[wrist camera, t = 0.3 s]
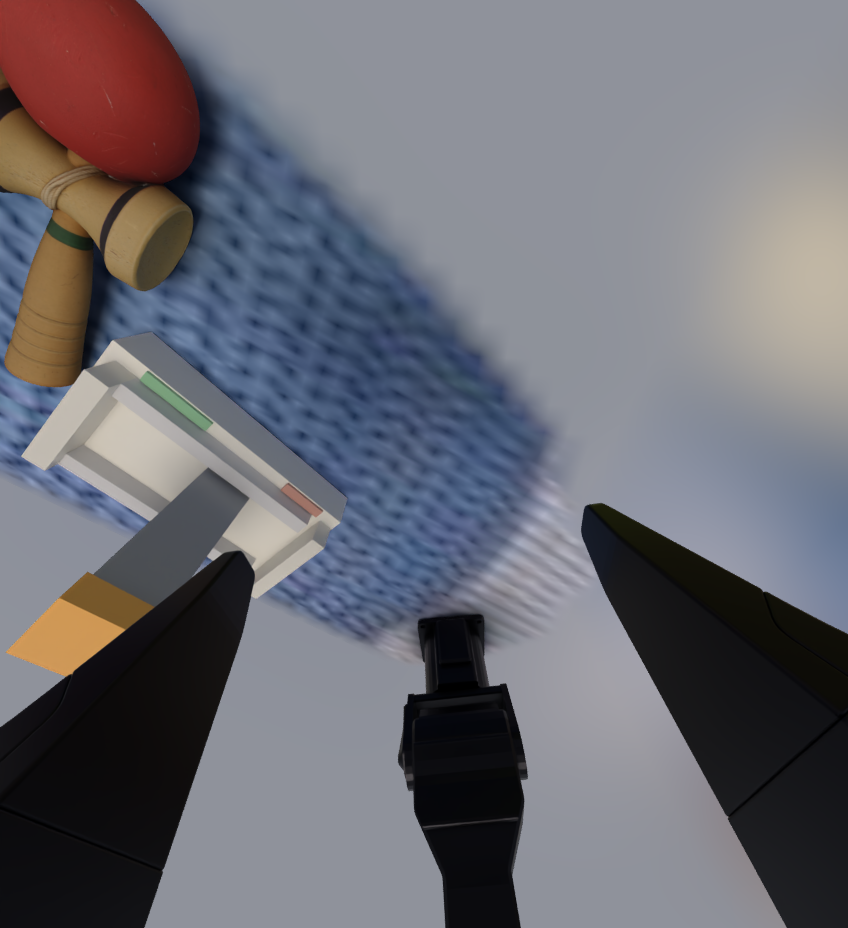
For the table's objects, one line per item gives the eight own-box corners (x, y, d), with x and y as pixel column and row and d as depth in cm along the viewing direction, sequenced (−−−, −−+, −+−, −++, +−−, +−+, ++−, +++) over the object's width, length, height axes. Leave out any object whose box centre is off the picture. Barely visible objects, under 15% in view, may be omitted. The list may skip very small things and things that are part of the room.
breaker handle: (256, 495, 22) (151, 642, 13) (214, 531, 24) (94, 687, 15) (209, 460, 21) (59, 597, 12) (168, 501, 22) (5, 652, 13)
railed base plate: (347, 498, 26) (334, 542, 22) (273, 555, 29) (249, 605, 25) (151, 331, 20) (80, 346, 16) (80, 424, 23) (2, 458, 19)
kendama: (158, 399, 24) (270, 121, 15) (55, 434, 18) (141, 32, 10) (54, 318, 22) (114, -37, 14) (-91, 330, 17) (-137, -243, 8)
